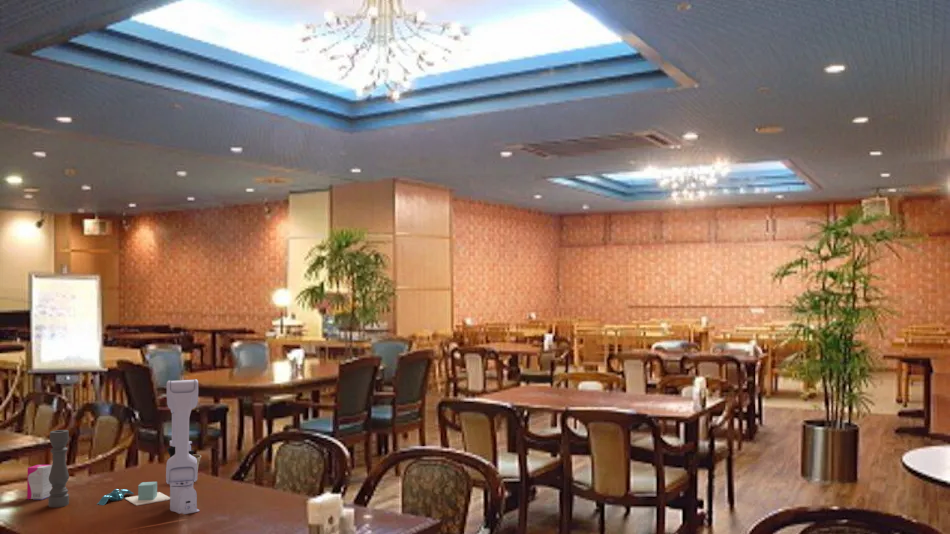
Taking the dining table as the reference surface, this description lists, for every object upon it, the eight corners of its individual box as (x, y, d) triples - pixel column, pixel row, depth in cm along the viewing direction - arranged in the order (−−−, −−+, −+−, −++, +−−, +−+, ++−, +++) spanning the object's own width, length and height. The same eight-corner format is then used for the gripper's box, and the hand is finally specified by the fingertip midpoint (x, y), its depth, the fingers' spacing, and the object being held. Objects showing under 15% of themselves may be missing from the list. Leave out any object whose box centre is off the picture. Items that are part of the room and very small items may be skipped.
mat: (171, 499, 277) (171, 498, 277) (136, 505, 269) (136, 504, 269) (159, 493, 286) (159, 491, 286) (124, 498, 278) (124, 497, 278)
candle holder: (60, 508, 266) (60, 433, 267) (44, 507, 268) (44, 432, 268) (73, 503, 272) (73, 430, 273) (57, 502, 274) (57, 429, 274)
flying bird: (121, 494, 286) (121, 483, 286) (137, 495, 284) (137, 484, 284) (89, 505, 272) (90, 493, 272) (106, 506, 269) (106, 495, 270)
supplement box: (52, 496, 282) (53, 464, 282) (42, 501, 276) (42, 467, 276) (37, 496, 282) (37, 463, 283) (26, 500, 277) (26, 467, 277)
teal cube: (153, 499, 275) (153, 485, 275) (138, 500, 275) (138, 485, 275) (157, 495, 280) (157, 481, 280) (142, 496, 280) (142, 482, 280)
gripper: (199, 431, 281) (199, 470, 281) (183, 426, 292) (183, 463, 292) (179, 434, 277) (179, 473, 276) (163, 429, 288) (163, 466, 287)
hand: (180, 468), depth 284 cm, fingers open, 7 cm apart
